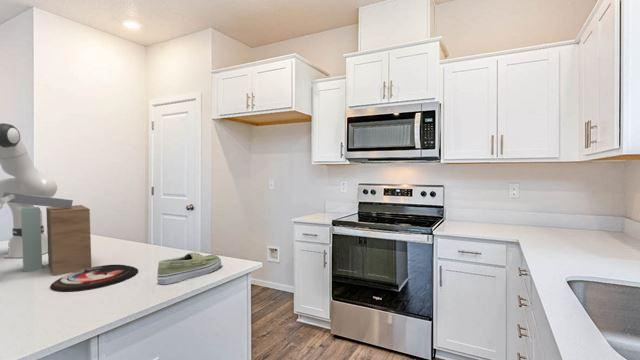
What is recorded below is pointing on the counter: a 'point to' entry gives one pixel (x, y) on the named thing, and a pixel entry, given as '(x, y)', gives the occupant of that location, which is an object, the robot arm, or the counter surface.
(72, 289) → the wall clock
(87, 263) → the brown wooden block
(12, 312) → the counter surface
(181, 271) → the boat shoe
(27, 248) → the socket post
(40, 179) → the robot arm
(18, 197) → the bar
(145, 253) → the counter surface
